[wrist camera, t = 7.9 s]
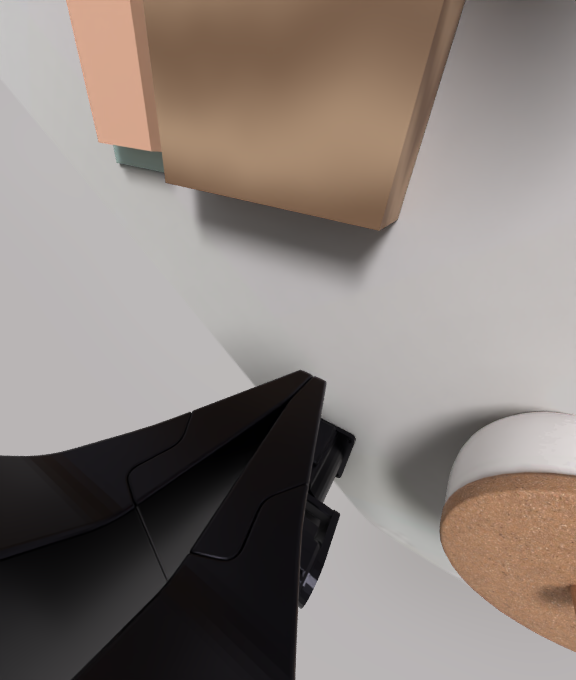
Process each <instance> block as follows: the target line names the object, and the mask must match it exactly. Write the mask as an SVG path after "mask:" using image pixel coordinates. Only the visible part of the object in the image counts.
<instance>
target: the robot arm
mask: <svg viewBox="0 0 576 680" xmlns="http://www.w3.org/2000/svg"><path fill="white" fill-rule="evenodd" d="M325 389H326V381H325V380H322V379H320V378H318V377H316V376H314V377H313V376H312V375H311V374H309V373H307V372H305V371H303V370H299V371H296V372H293V373H291V374H288V375H285V376H283V377H280V378H278V379H275V380H272V381H270V382H267V383H264V384H262V385H259V386H257V387H254V388H251V389H249V390H246V391H243V392H241V393H238V394H236V395H233V396H231V397H228V398H225V399H222V400H220V401H217V402H215V403H212V404H209V405H207V406H204V407H202V408H199V409H196V410H194V411H192V413H191V412H188V413H185V414H183V415H180V416H178V417H175V418H172V419H169V420H167V421H164V422H161V423H158V424H155V425H152V426H149V427H146V428H142V429H139V430H136V431H133V432H130V433H126V434H123V435H119V436H116V437H113V438H109V439H105V440H102V441H98V442H95V443H91V444H88V445H84V446H81V447H78V448H74V449H70V450H67V451H63V452H58V453H53V454H46V455H38V456H0V680H295V668H296V643H297V620H298V618H297V617H298V607H299V608H303V607H304V605H305V604H306V602H307V600H308V599H309V597H310V595H311V593H312V591H313V589H314V587H315V585H316V582H317V580H318V578H319V576H320V573H321V571H322V568H323V566H324V563H325V560H326V557H327V554H328V550H329V547H330V544H331V541H332V538H333V535H334V532H335V529H336V526H337V523H338V520H339V517H340V513H338V512H337V511H335V510H332V509H330V508H329V507H328V506H326V505H325V504H323V502H324V499H325V497H326V495H327V493H328V491H329V489H330V486H331V484H332V482H333V480H334V478H335V477H337V478H340V477H341V476H342V473H343V471H344V468H345V466H346V463H347V461H348V458H349V456H350V453H351V451H352V448H353V446H354V443H355V441H356V438H355V436H354V435H352V434H351V433H349V432H347V431H345V430H343V429H341V428H339V427H337V426H335V425H333V424H331V423H329V422H327V421H325V420H323V419H321V412H322V406H323V401H324V395H325Z"/></svg>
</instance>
